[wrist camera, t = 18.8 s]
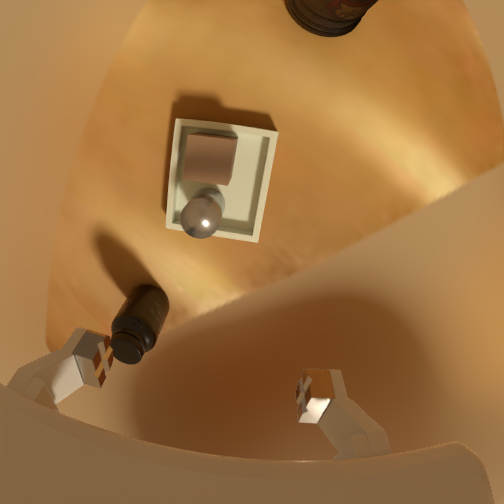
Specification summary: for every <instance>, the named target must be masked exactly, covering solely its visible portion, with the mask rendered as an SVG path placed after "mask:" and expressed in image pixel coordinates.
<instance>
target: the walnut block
mask: <svg viewBox="0 0 504 504" xmlns="http://www.w3.org/2000/svg"><path fill="white" fill-rule="evenodd" d="M237 141H238V137H232V136H225V135H218V134H210V133H201V132H196V133H192V134H188V138H187V146H186V154H185V163H184V172H183V180H190V181H197V182H205V183H212V184H219V185H225V186H228V184H229V182H230V180H231V178H232V173H233V166H234V160H235V154H236V147H237Z"/></svg>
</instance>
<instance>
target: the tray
mask: <svg viewBox="0 0 504 504" xmlns="http://www.w3.org/2000/svg"><path fill="white" fill-rule="evenodd" d="M196 132H201V133H210V134H218V135H225V136H232V137H238V141H237V147H236V154H235V160H234V166H233V173H232V178H231V180H230V182H229V184H228V186H225V185H219V184H212V183H205V182H197V181H190V180H183V172H184V163H185V154H186V146H187V138H188V134H192V133H196ZM277 137H278V131H273V130H267V129H262V128H256V127H249V126H243V125H236V124H229V123H221V122H213V121H204V120H194V119H184V118H176V121H175V129H174V137H173V145H172V154H171V164H170V175H169V186H168V199H167V213H166V228H167V229H174V230H180V231H184V229H183V228H182V226H181V223H180V215H181V212H182V210H183V208H184V207H185V205H186V204H187V203H188V202H189V200H190V199H191V198H192V197H193V195H194V194H195V193H196V192H197V191H198V190H200V189H202V188H213V189H216V190H218V191H219V192H220V193H221V194H222V195H223V197H224V199H225V210H224V212H223V215H222V218H221V221H220V224H219V226H218V229H217V231H216V232H215V233H214V234H213V235H212V236H219V237H225V238H231V239H238V240H244V241H250V242H256V243H258V239H259V233H260V228H261V223H262V218H263V212H264V207H265V202H266V196H267V191H268V186H269V180H270V175H271V169H272V164H273V159H274V153H275V148H276V143H277Z"/></svg>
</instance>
